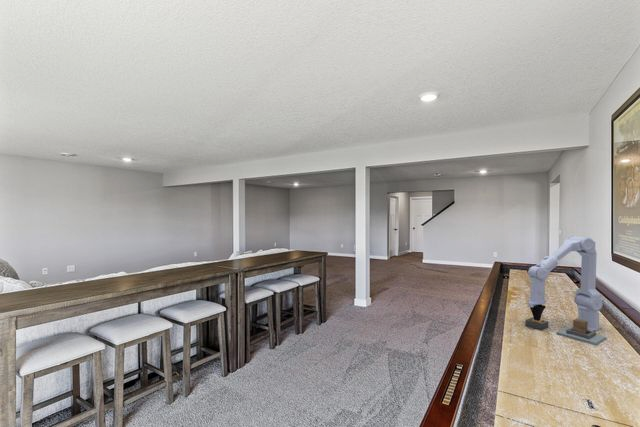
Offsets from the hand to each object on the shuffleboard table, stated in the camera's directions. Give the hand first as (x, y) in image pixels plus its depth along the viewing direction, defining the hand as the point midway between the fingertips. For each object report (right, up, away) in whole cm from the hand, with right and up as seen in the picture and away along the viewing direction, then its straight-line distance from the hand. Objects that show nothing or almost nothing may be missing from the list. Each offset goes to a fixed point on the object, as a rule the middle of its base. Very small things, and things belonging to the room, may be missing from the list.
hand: (536, 320), depth 152 cm
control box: (0, -3, 0) cm, 3 cm away
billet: (+12, -3, -11) cm, 16 cm away
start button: (0, -2, 0) cm, 2 cm away
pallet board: (+12, -4, -11) cm, 17 cm away
